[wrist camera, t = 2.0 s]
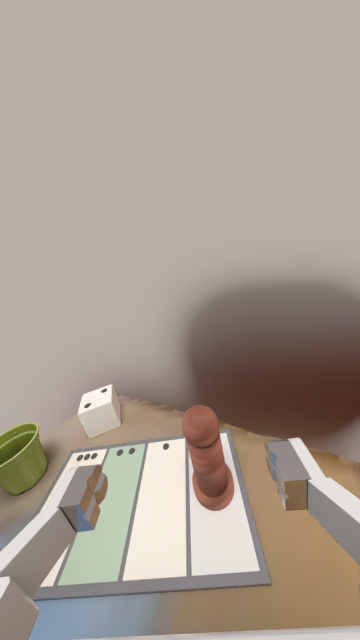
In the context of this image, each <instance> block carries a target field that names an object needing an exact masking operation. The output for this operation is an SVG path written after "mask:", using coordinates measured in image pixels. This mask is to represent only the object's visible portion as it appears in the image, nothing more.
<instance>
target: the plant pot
mask: <svg viewBox="0 0 360 640" xmlns="http://www.w3.org/2000/svg"><path fill="white" fill-rule="evenodd" d="M38 432H39V426H38V424H37V423H34V422H29V423H24V424H21V425H18V426H16V427H14V428H12V429H10V430H8V431H6V432H5V433H3V434H1V435H0V486H1V487H2V488H4V489H5V490H6V491H8V492H9V493H10V494H12V495H18V494H20V493H21V492H23V491H25V490H28V489H30V488H31V487H32V486H34V485H35V484H36V483H37V482H38V481H39V480H40V478H41V477H42V476H43V474H44V473H45V471H46V466H47V464H48V463H47V460H46V457H45V454H44V452H43V449H42V446H41V443H40V440H39V433H38Z"/></svg>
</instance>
